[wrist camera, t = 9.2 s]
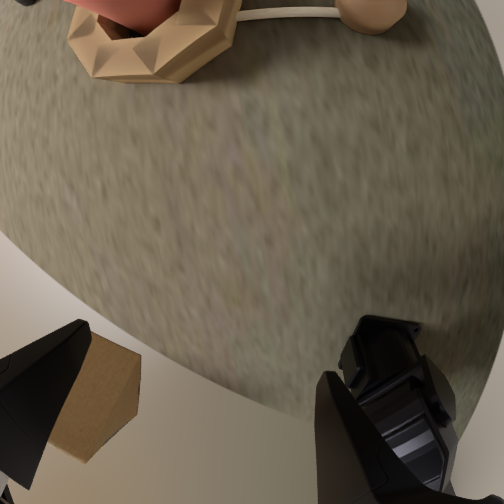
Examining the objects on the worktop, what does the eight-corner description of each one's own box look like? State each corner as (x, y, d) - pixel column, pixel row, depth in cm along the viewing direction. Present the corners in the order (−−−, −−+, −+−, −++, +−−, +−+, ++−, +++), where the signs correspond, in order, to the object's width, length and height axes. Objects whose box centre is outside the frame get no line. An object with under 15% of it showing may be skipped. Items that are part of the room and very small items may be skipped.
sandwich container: (89, 391, 35) (47, 463, 21) (80, 324, 29) (9, 415, 15) (138, 415, 35) (103, 495, 22) (143, 355, 29) (85, 465, 15)
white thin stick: (373, 13, 13) (375, 9, 13) (374, 22, 14) (377, 18, 13) (204, 19, 15) (201, 15, 14) (205, 28, 15) (202, 24, 15)
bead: (252, -36, 13) (243, -66, 8) (223, 87, 17) (206, 76, 13) (123, -25, 13) (96, -44, 9) (94, 85, 18) (58, 82, 13)
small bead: (393, -2, 12) (407, -16, 10) (389, 43, 14) (404, 32, 11) (337, -20, 12) (343, -38, 10) (330, 24, 14) (336, 9, 12)
